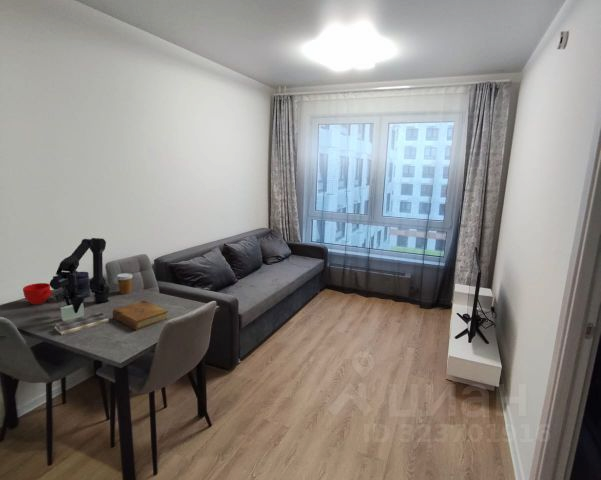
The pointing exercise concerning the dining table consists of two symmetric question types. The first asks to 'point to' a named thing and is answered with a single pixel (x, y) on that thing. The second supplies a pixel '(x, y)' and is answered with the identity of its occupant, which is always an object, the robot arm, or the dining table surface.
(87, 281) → the storage jar
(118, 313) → the diary
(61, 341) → the dining table surface
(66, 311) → the pale green rectangular box
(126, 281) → the disposable coffee cup
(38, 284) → the ceramic cup
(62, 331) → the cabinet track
